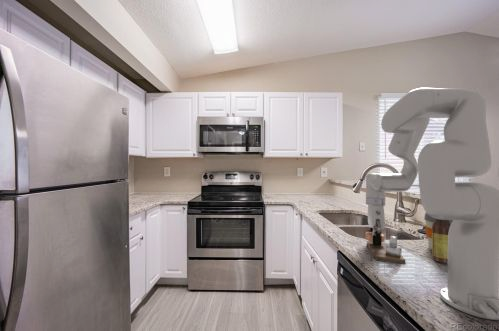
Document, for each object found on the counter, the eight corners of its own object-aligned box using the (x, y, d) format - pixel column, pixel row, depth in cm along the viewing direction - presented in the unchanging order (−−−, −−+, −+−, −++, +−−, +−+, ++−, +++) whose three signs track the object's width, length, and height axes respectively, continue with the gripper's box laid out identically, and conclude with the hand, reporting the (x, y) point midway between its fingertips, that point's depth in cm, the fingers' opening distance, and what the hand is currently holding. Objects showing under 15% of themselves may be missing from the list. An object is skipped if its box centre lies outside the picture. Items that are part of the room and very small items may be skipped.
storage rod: (402, 258, 85) (403, 239, 85) (387, 256, 87) (387, 238, 87) (398, 253, 90) (398, 235, 90) (384, 251, 91) (384, 234, 91)
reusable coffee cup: (446, 245, 104) (447, 212, 104) (470, 256, 92) (471, 218, 92) (417, 244, 105) (417, 211, 105) (437, 254, 93) (437, 217, 93)
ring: (386, 243, 96) (386, 237, 96) (367, 241, 98) (367, 235, 98) (381, 238, 102) (381, 232, 102) (364, 236, 104) (364, 231, 104)
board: (405, 263, 84) (405, 259, 84) (376, 260, 87) (376, 256, 87) (390, 246, 101) (390, 243, 101) (366, 244, 104) (367, 241, 104)
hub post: (382, 247, 97) (383, 232, 97) (369, 245, 98) (369, 231, 98) (379, 243, 102) (380, 229, 102) (367, 242, 103) (367, 228, 103)
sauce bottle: (457, 265, 83) (458, 210, 83) (438, 263, 84) (438, 209, 84) (446, 258, 90) (446, 207, 89) (428, 256, 91) (428, 206, 91)
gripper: (391, 205, 90) (390, 250, 91) (379, 199, 107) (379, 236, 107) (370, 204, 93) (369, 247, 93) (362, 198, 109) (361, 235, 109)
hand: (374, 241), depth 100 cm, fingers closed on ring, 7 cm apart
